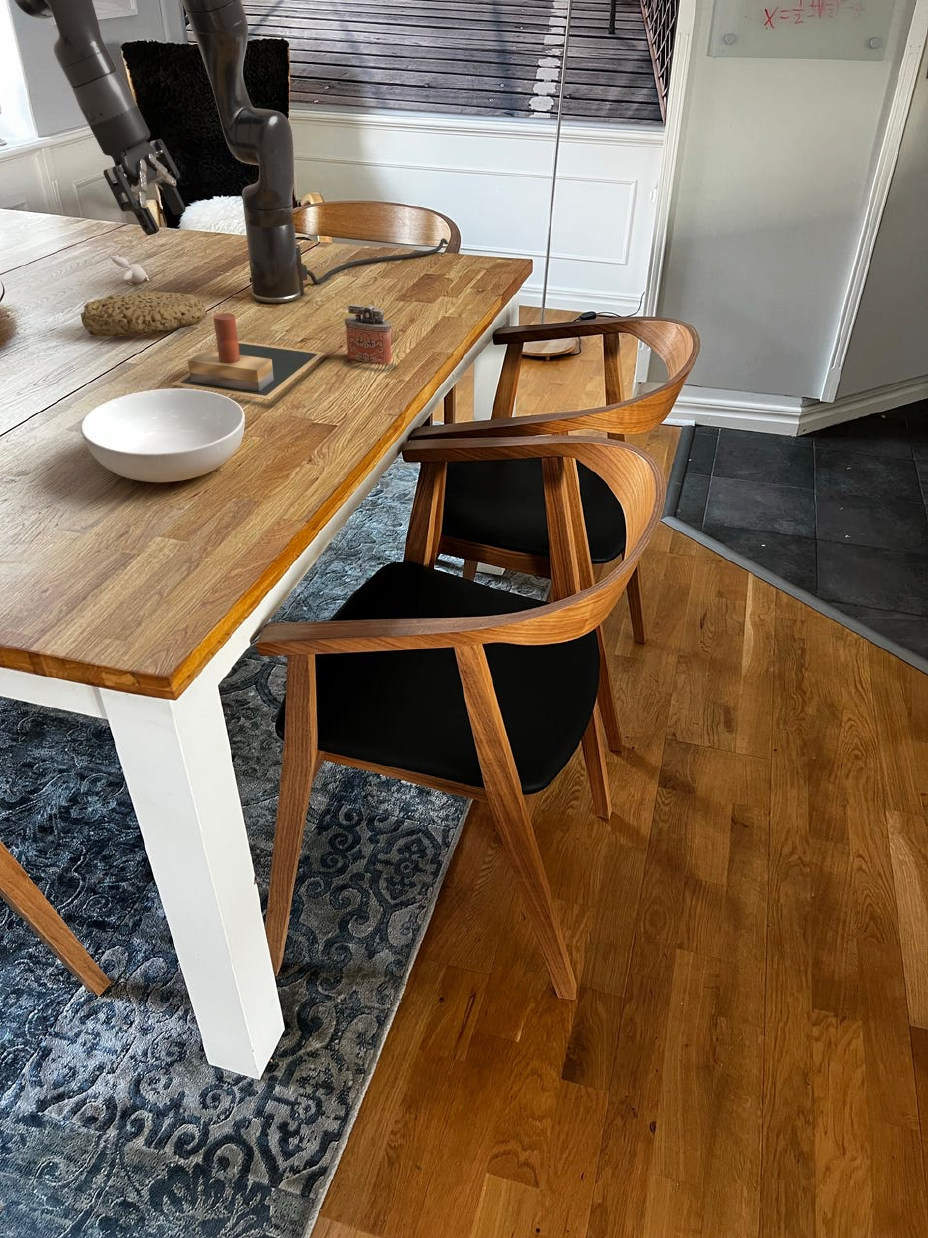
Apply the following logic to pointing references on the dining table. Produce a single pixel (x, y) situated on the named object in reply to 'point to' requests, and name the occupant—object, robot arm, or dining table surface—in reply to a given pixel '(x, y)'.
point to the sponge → (141, 314)
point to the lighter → (368, 335)
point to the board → (283, 363)
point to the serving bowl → (164, 433)
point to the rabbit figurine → (130, 270)
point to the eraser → (230, 361)
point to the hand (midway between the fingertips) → (167, 223)
